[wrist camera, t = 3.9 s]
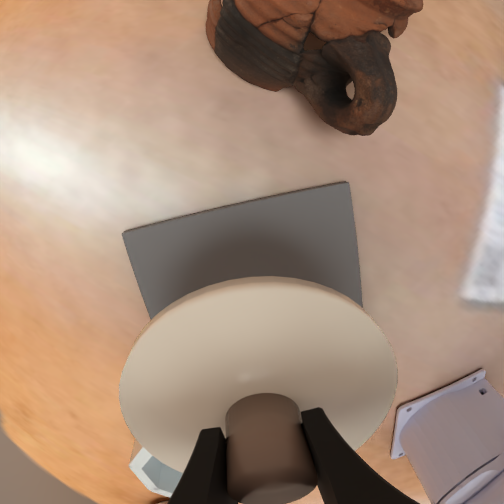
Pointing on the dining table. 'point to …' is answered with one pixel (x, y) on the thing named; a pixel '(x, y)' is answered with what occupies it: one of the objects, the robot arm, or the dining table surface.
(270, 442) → the lid
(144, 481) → the ramekin
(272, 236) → the mat
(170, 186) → the dining table surface
